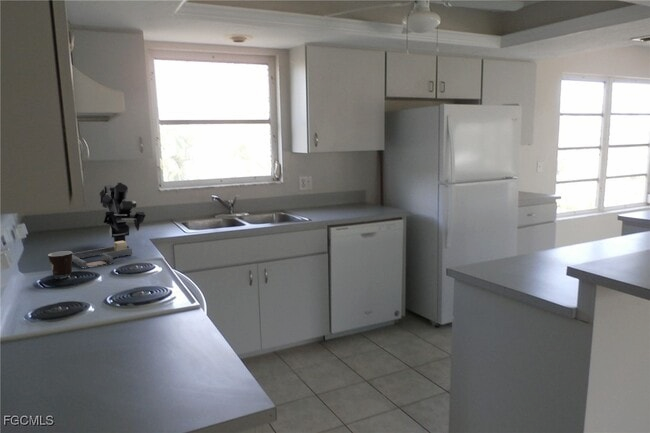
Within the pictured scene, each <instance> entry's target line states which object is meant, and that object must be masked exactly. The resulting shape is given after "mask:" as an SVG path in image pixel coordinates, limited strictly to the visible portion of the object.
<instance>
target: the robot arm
mask: <svg viewBox="0 0 650 433" xmlns="http://www.w3.org/2000/svg"><path fill="white" fill-rule="evenodd" d="M128 190H129V188H128V186H127V185H126V184H124V183H123V182H117V183H116V185H111V184H110V185H104V186H103V188H102V189H101V190H100V192H99V194H98V195H99V196H98V199H99V204H100V205H101V207H103V208H104V209H106V210H107V211H105V212H104V214H103V216H102V222H103V224H106V225H109V232H108V233H109V237H110V238H111V239H112V238H113V243H114V242H118V241H125V242H127V240H126V237H127V236H128V237H129V236H130V226H129V224H128V223H127V221H126V220H133V222H134V226H135V229H136V231H138V232H139V230H140V224H142V223H143V222H144V220H145V217H146V212H144V211H135V214H132V209H136V208H137V201H136V200H126V199H127V198H128V197H127V196H128ZM129 247H130V246H129V245H127V248H129Z"/></svg>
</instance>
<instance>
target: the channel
mask: <svg viewBox="0 0 650 433" xmlns="http://www.w3.org/2000/svg"><path fill="white" fill-rule="evenodd" d="M100 254H101V255H100ZM131 254H132V255H133V249H132V248H127V249H124V250H119V251H115V250H114V245H113V246H108V247H103V248H96V249H90V250H85V251H78V252H74V253H73V252H72V262H74V263H76V264H77V266H78V265H79V266H81V267H84V268H85V267H87V261H85V260H83V259H84V258H83V257H87V258H90V257H89V256H93V257H95V256H94V255H99V256H101V261H103V260H104V262H105V261H106V263H107V262H109V263H112V262H113V263H114V259H116V258H115V257H117V258H120V257H119V256H123V257H126V256H125V255H128V256H132V255H131ZM80 258H82V259H80ZM74 263H73V264H74ZM109 263H108V264H109ZM76 264H75V265H76ZM79 266H78V267H79ZM81 267H80V268H81ZM87 268H88V267H87Z"/></svg>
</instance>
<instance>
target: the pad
mask: <svg viewBox="0 0 650 433" xmlns="http://www.w3.org/2000/svg"><path fill="white" fill-rule="evenodd" d="M103 263H107V262H105V261H103V260H99V261H93V262H88V263H87V262H86V264H87V265H97V264H103Z"/></svg>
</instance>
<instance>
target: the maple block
mask: <svg viewBox="0 0 650 433" xmlns="http://www.w3.org/2000/svg"><path fill="white" fill-rule="evenodd" d="M113 246H114V250H115V251H119V250H124V249H128V247H127V246H128V243H127V241H126V242H125V241H118V242H114V241H113Z"/></svg>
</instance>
